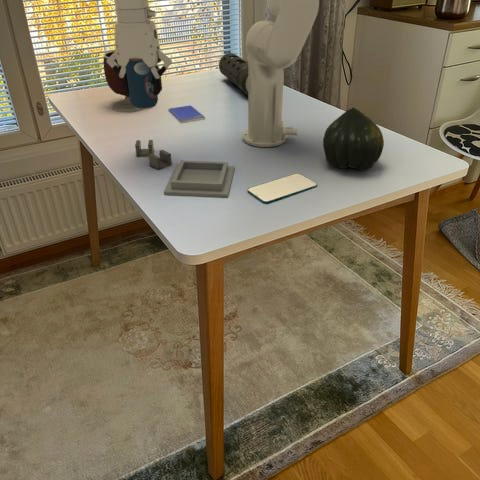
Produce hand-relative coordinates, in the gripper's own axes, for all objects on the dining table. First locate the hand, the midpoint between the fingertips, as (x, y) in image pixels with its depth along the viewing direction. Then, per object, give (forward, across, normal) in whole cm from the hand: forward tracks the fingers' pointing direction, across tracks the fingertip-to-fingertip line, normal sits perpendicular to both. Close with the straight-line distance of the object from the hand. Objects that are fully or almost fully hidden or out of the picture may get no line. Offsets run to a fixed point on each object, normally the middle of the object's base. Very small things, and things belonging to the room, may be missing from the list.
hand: (143, 92), depth 121 cm
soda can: (+4, 0, 0) cm, 4 cm away
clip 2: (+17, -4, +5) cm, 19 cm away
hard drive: (+18, -2, -33) cm, 38 cm away
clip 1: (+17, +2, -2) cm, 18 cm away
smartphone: (+18, -36, +14) cm, 43 cm away
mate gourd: (+18, +18, -40) cm, 48 cm away
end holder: (+18, -16, +13) cm, 27 cm away
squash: (+18, -53, -2) cm, 56 cm away
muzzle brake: (+18, -17, -63) cm, 68 cm away
